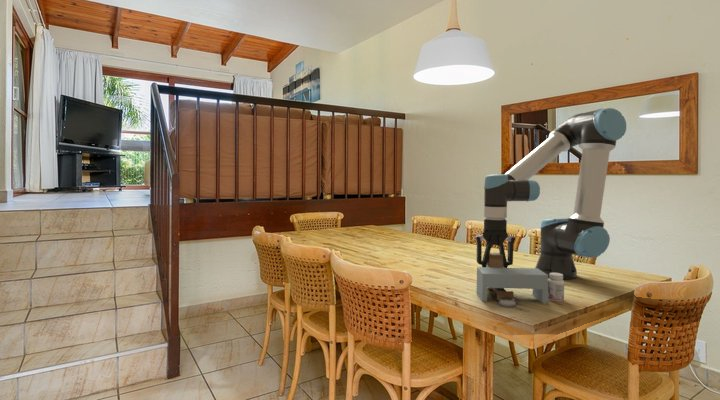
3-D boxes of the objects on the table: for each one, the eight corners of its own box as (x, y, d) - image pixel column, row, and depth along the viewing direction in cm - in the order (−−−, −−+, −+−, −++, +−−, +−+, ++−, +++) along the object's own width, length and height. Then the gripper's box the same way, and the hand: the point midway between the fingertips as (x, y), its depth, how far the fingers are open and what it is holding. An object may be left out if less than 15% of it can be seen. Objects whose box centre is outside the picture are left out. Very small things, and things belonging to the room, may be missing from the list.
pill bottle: (544, 297, 127) (545, 272, 127) (558, 297, 128) (558, 272, 127) (552, 302, 123) (553, 276, 122) (567, 301, 123) (567, 275, 122)
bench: (537, 294, 130) (537, 268, 130) (547, 303, 121) (548, 275, 121) (476, 293, 132) (476, 267, 132) (482, 301, 123) (482, 273, 123)
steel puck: (513, 303, 122) (514, 297, 122) (517, 309, 117) (517, 302, 117) (497, 302, 123) (497, 296, 122) (500, 308, 118) (500, 301, 117)
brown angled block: (485, 285, 139) (486, 252, 138) (499, 285, 138) (500, 252, 138) (497, 300, 122) (498, 262, 122) (513, 300, 122) (513, 262, 121)
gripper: (517, 217, 138) (516, 281, 139) (467, 217, 140) (466, 280, 141) (524, 219, 130) (523, 287, 132) (471, 219, 132) (470, 286, 134)
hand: (494, 283), depth 136 cm, fingers closed on brown angled block, 4 cm apart
